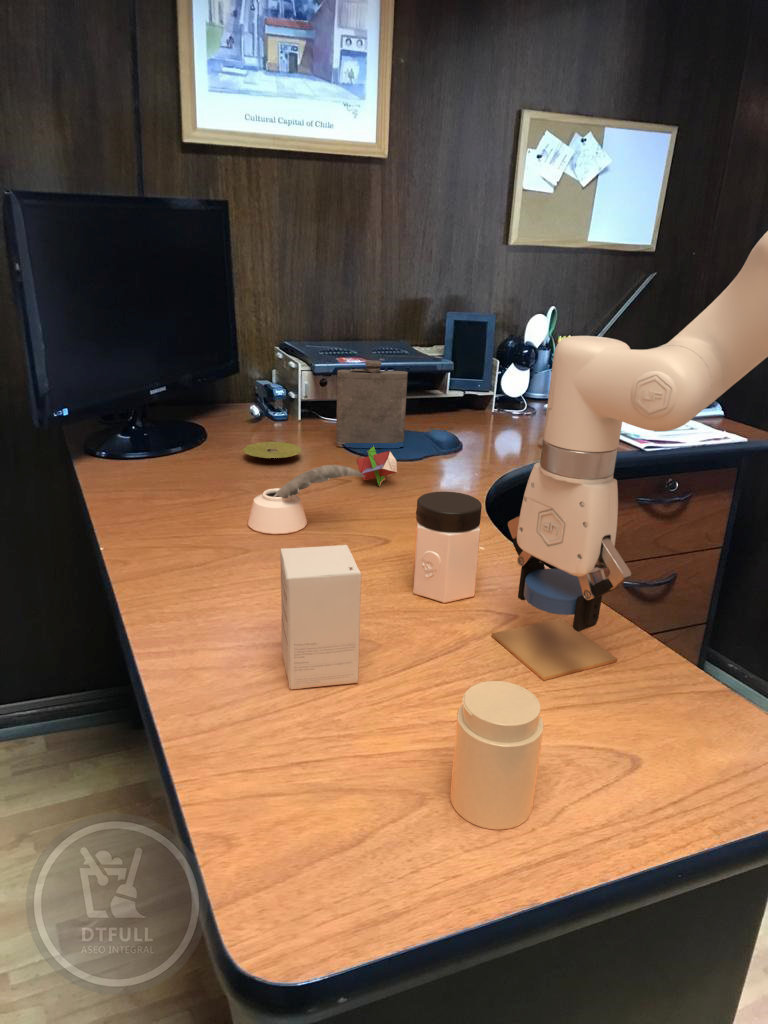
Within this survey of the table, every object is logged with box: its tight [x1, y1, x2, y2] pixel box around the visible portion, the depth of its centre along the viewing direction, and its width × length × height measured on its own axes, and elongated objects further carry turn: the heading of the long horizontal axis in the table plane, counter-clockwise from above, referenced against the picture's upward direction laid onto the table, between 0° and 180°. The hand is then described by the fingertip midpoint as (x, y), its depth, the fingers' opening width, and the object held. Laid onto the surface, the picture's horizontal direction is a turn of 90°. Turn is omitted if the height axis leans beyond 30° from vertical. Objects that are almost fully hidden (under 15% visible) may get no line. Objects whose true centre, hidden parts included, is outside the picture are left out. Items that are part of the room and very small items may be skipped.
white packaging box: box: [279, 544, 362, 690], centre depth 79 cm, size 7×7×13 cm
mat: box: [242, 441, 302, 459], centre depth 151 cm, size 11×11×2 cm
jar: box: [412, 491, 482, 604], centre depth 99 cm, size 9×8×12 cm
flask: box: [335, 359, 409, 445], centre depth 159 cm, size 4×14×18 cm, turn 96°
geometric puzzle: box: [355, 445, 398, 486], centre depth 139 cm, size 7×7×8 cm
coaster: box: [490, 618, 618, 682], centre depth 87 cm, size 10×10×1 cm
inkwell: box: [247, 464, 365, 535], centre depth 118 cm, size 9×18×10 cm, turn 92°
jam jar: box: [449, 680, 545, 831], centre depth 62 cm, size 7×7×10 cm
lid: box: [524, 568, 595, 616], centre depth 85 cm, size 8×8×2 cm
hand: (556, 610), depth 86 cm, fingers closed on lid, 7 cm apart
